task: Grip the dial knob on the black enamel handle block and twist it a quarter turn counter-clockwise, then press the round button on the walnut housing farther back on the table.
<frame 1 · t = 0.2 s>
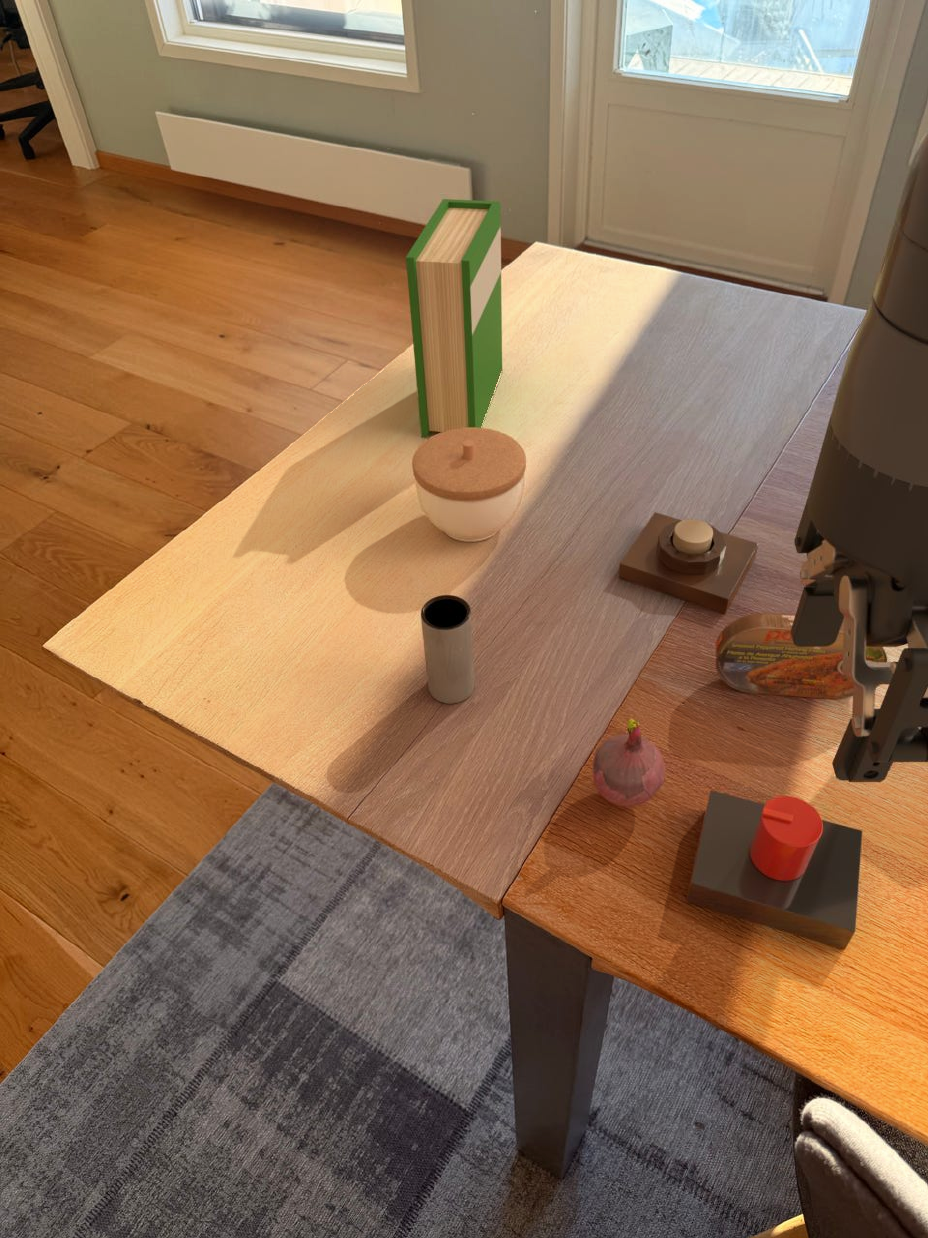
hand: (831, 703, 45), 32 cm above the table, tool pointing down, fingers open, 8 cm apart
hardback book: (463, 405, 125), on the table
tin: (788, 686, 87), on the table
lidded bowl: (471, 523, 107), on the table
vegetable: (624, 796, 79), on the table
dial knob: (785, 837, 69), point 6 cm above the table, hinge at 0.0°
button housing: (687, 568, 99), on the table
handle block: (770, 875, 73), on the table
start button: (692, 537, 96), point 4 cm above the table, slide at 0.1 cm
planter: (451, 688, 89), on the table
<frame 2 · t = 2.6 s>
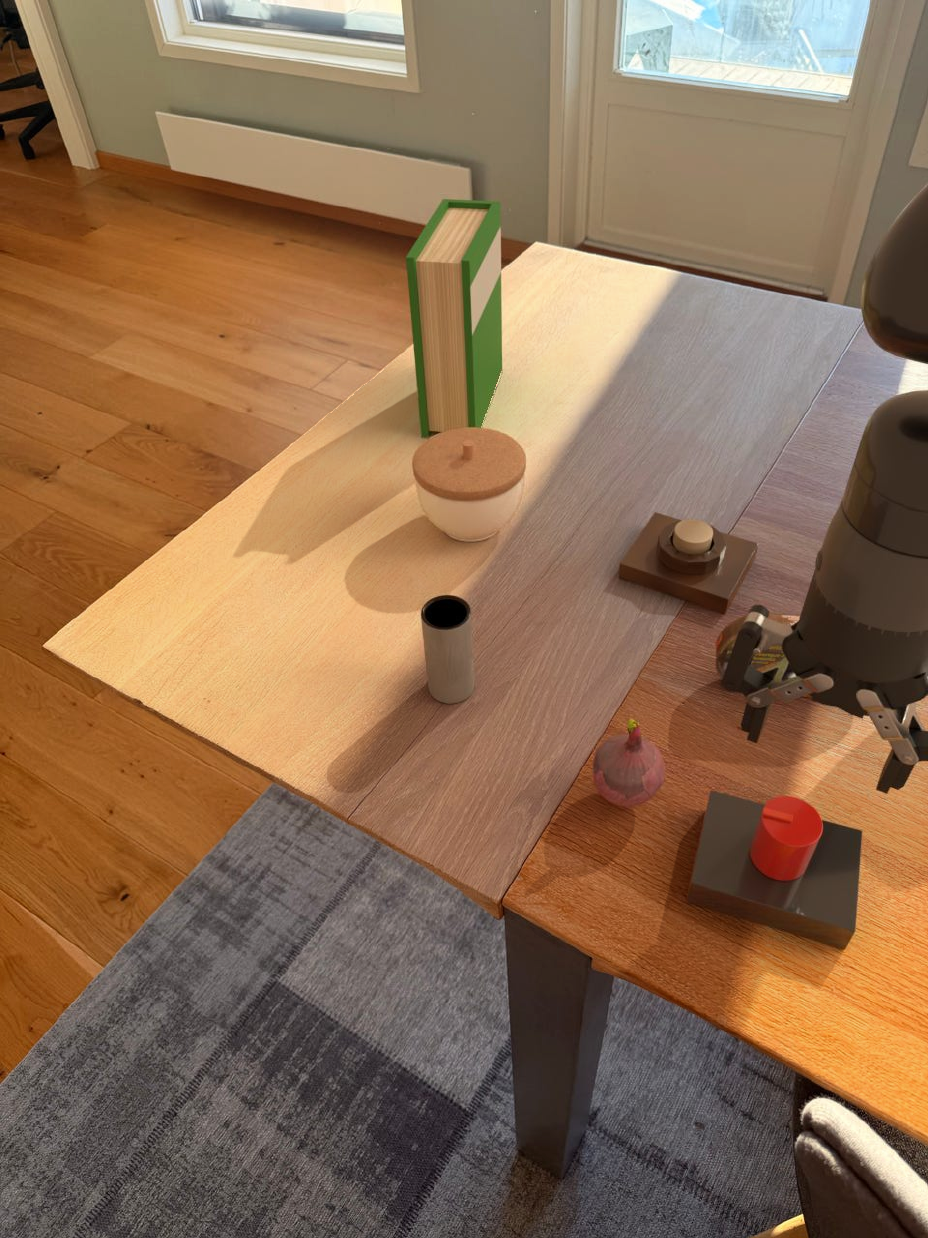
hand: (817, 757, 61), 16 cm above the table, tool pointing down, fingers open, 8 cm apart
nothing on the table moved.
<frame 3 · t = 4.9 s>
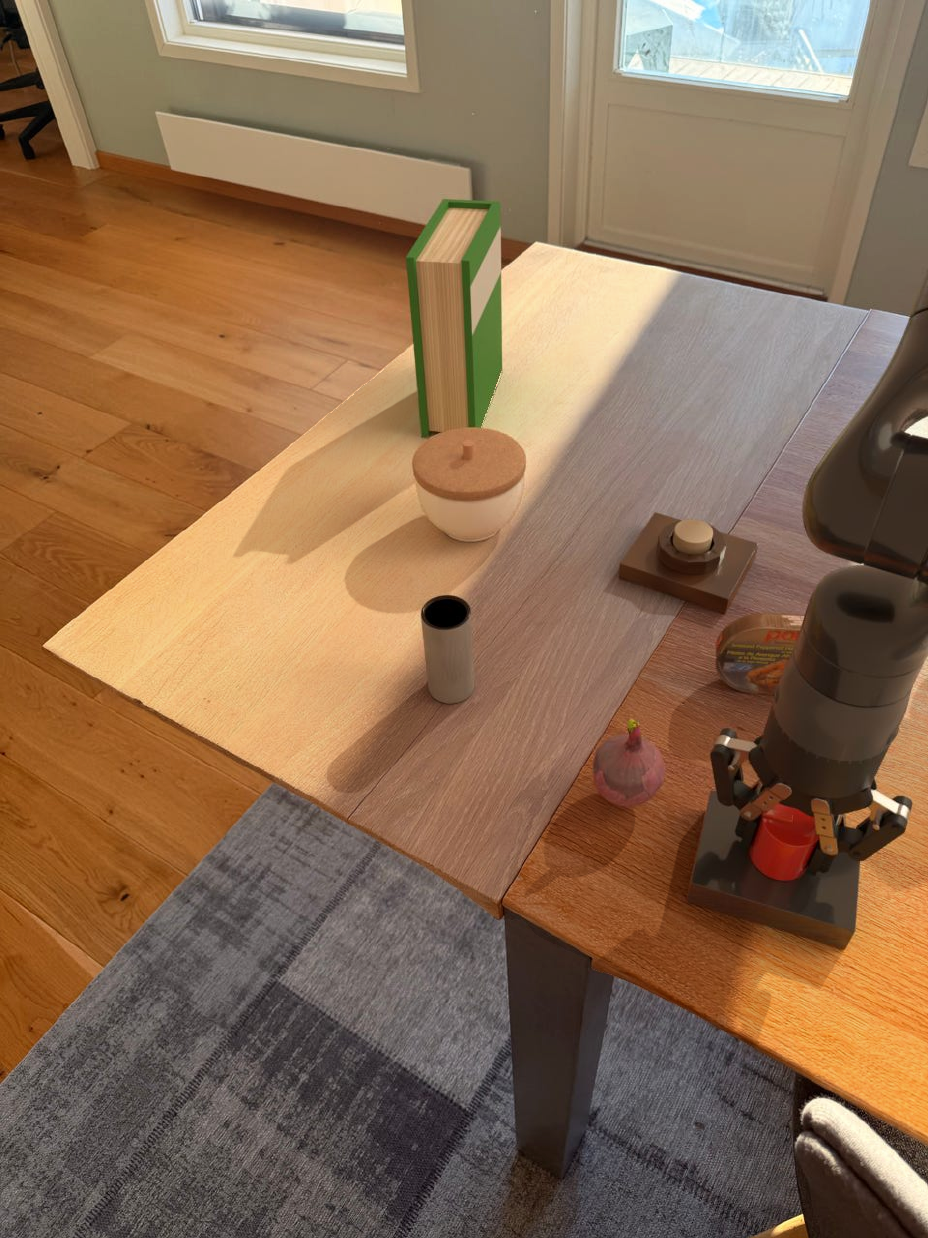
hand: (780, 850, 70), 4 cm above the table, tool pointing down, fingers closed on dial knob, 4 cm apart
dial knob: (785, 837, 69), point 6 cm above the table, hinge at 0.1°, touching gripper
everything else where it was.
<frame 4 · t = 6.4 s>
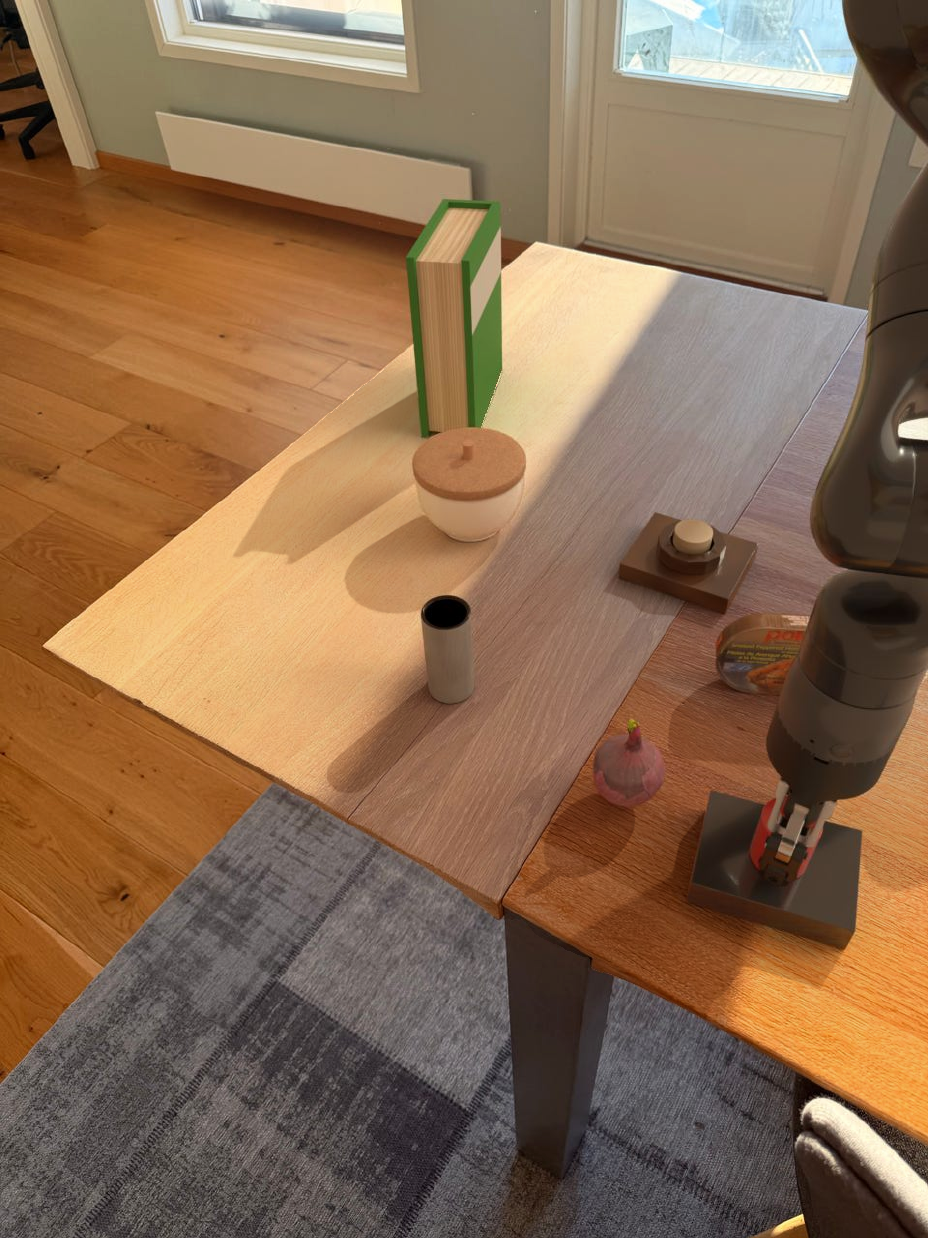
hand: (782, 852, 70), 4 cm above the table, tool pointing down, fingers closed on dial knob, 4 cm apart
dial knob: (785, 837, 69), point 6 cm above the table, hinge at 95.2°, touching gripper
everything else where it was.
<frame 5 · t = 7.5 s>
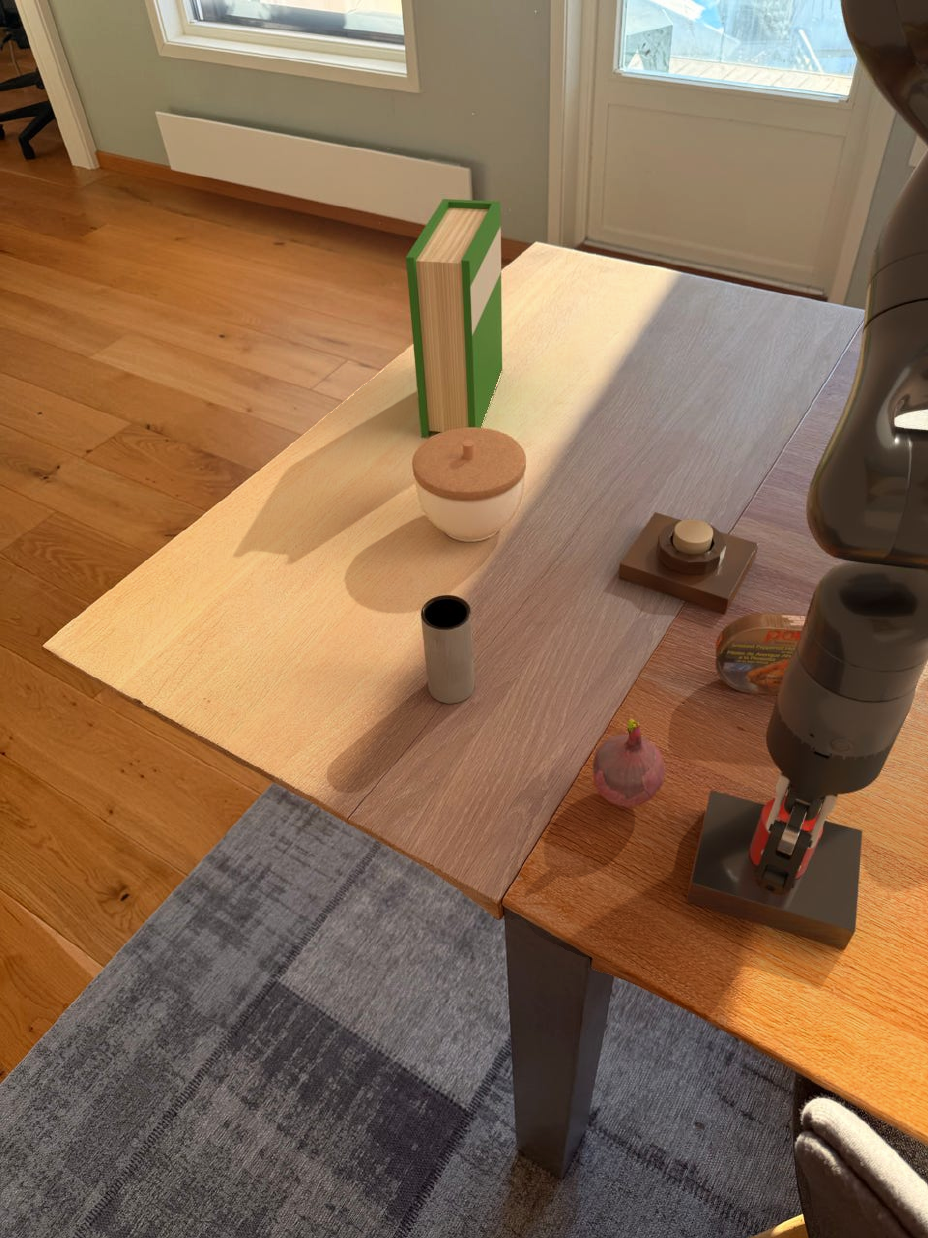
hand: (787, 842, 69), 5 cm above the table, tool pointing down, fingers open, 8 cm apart
dial knob: (785, 837, 69), point 6 cm above the table, hinge at 95.7°
everything else where it was.
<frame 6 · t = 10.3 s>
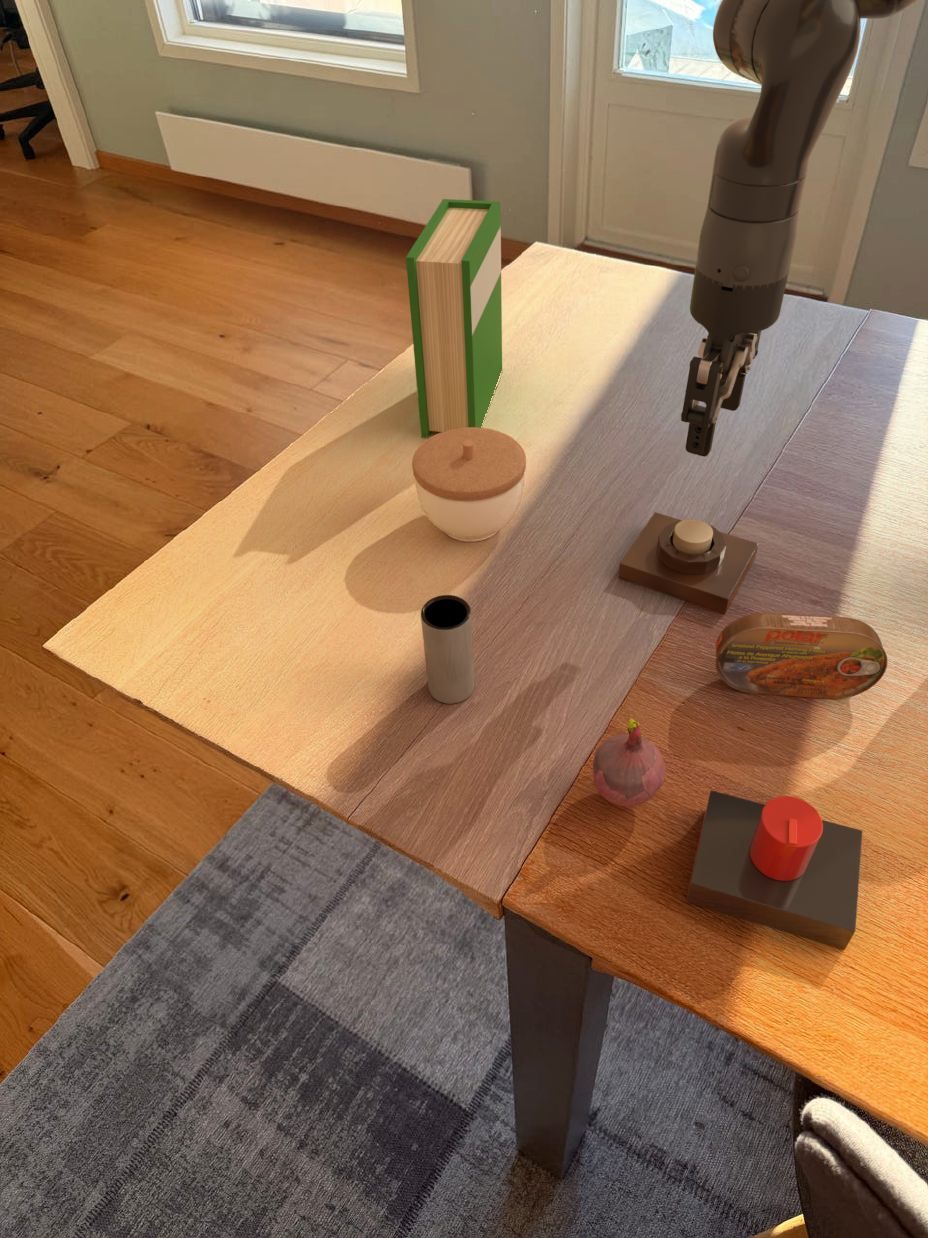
hand: (712, 429, 86), 18 cm above the table, tool pointing down, fingers open, 8 cm apart
nothing on the table moved.
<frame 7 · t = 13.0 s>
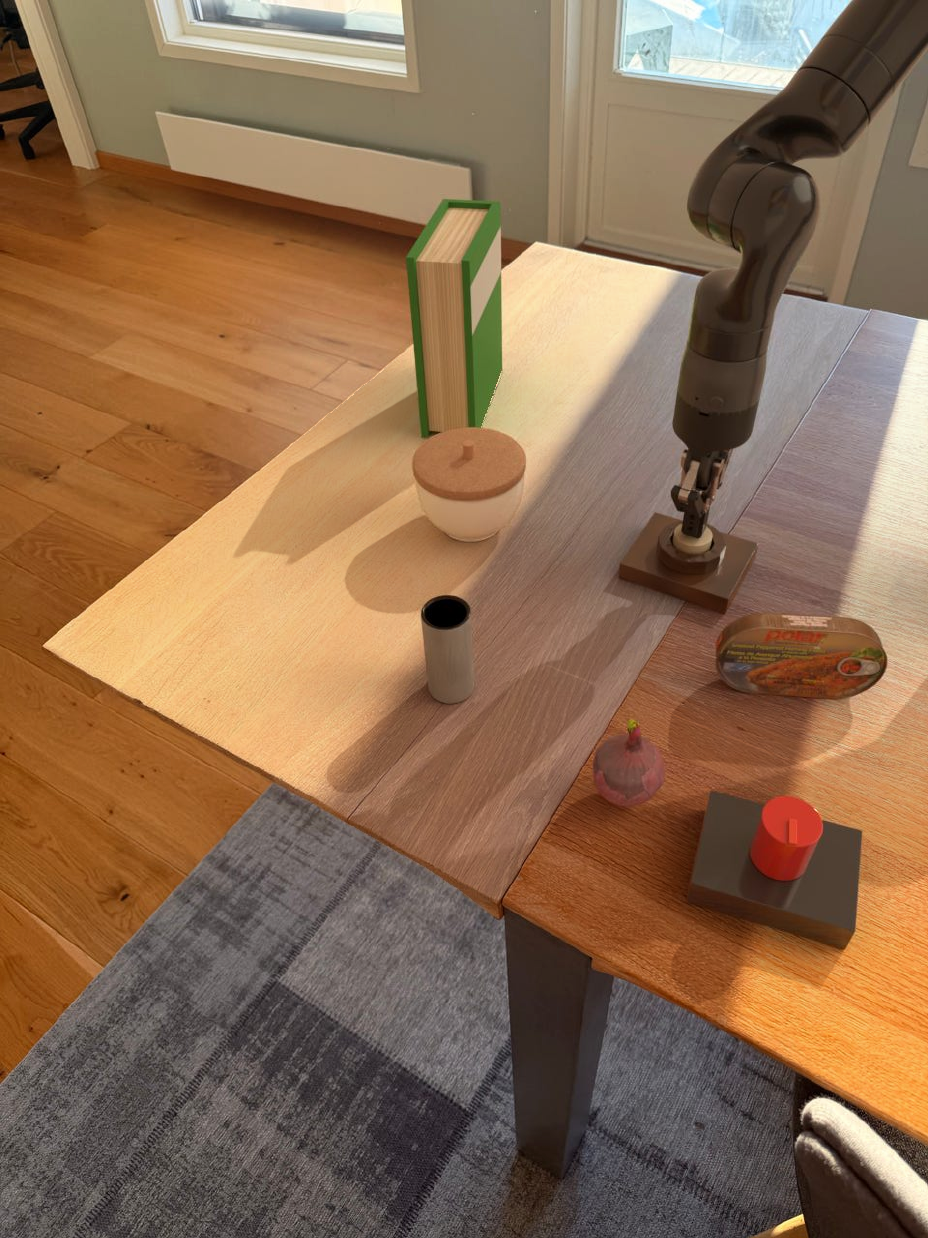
hand: (692, 532, 96), 5 cm above the table, tool pointing down, fingers closed
start button: (692, 540, 96), point 4 cm above the table, slide at -0.3 cm, touching gripper
everything else where it was.
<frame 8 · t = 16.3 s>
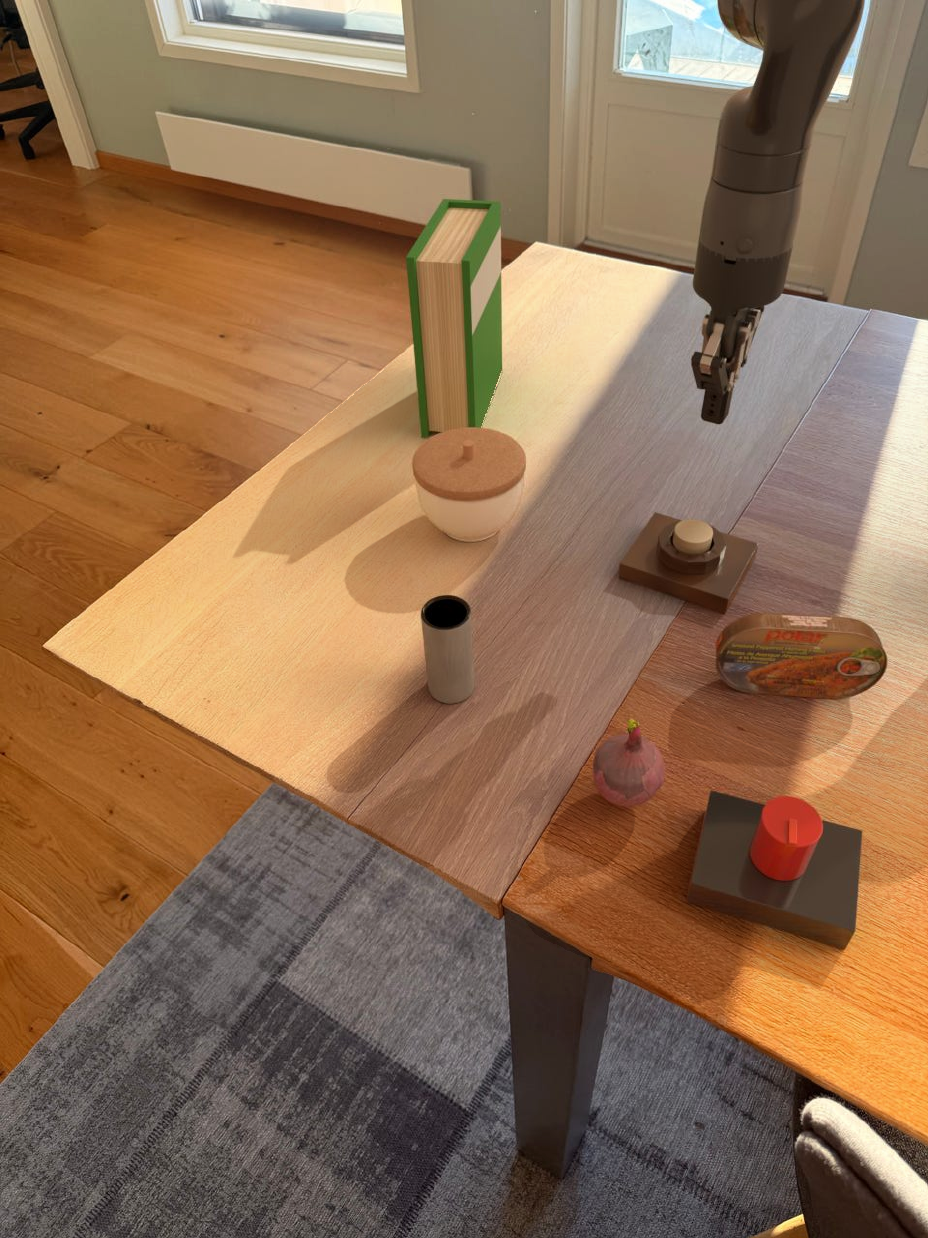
hand: (713, 418, 86), 19 cm above the table, tool pointing down, fingers closed
start button: (692, 537, 96), point 4 cm above the table, slide at 0.1 cm
everything else where it was.
at the end: dial knob at +96° (first picture: +0°); start button pushed in 1.1 cm at the most during the clip, back to where it started at the end; start button slide at 0.1 cm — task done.
